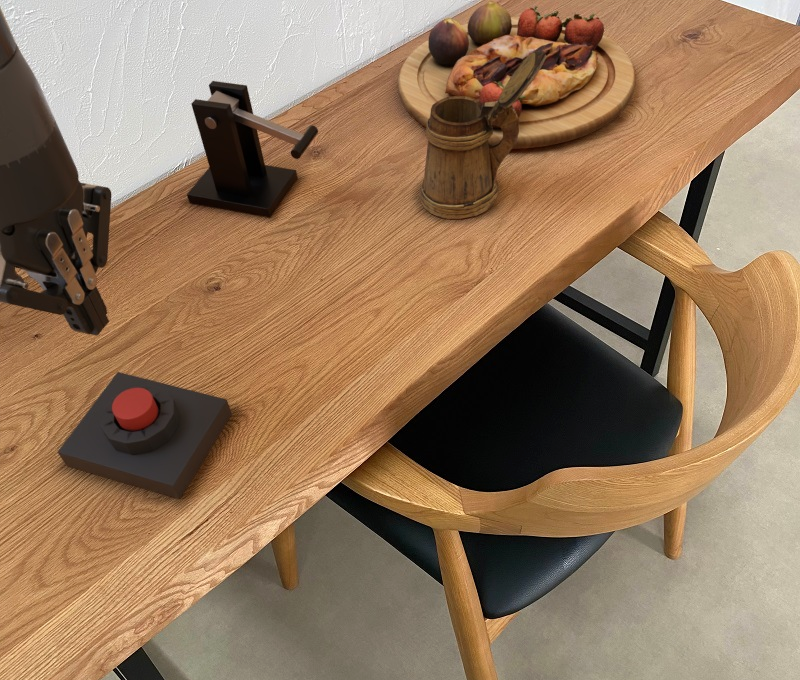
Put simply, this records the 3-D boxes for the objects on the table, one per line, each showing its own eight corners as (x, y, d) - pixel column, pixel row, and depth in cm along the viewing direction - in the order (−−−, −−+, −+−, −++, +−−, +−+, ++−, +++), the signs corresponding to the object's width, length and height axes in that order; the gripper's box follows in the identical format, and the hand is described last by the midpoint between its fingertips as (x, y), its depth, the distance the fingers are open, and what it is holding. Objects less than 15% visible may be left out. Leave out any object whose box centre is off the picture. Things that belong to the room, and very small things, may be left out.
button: (110, 425, 71) (103, 413, 69) (132, 395, 73) (125, 383, 71) (145, 435, 70) (138, 423, 68) (165, 404, 72) (160, 392, 70)
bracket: (298, 178, 99) (279, 81, 89) (270, 217, 94) (247, 120, 84) (220, 165, 102) (193, 70, 92) (189, 203, 97) (158, 107, 87)
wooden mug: (531, 225, 90) (543, 75, 76) (414, 216, 93) (405, 69, 79) (538, 178, 96) (550, 30, 82) (427, 171, 98) (421, 26, 84)
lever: (317, 140, 91) (319, 123, 89) (299, 165, 88) (301, 147, 87) (222, 102, 92) (222, 83, 90) (201, 125, 89) (200, 107, 87)
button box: (66, 466, 73) (48, 440, 70) (125, 386, 79) (111, 359, 75) (180, 499, 70) (166, 474, 67) (232, 413, 75) (222, 386, 72)
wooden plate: (579, 180, 95) (587, 117, 89) (354, 119, 106) (347, 60, 100) (666, 55, 112) (678, -5, 105) (463, 15, 123) (463, -42, 117)
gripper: (9, 70, 54) (100, 265, 67) (-132, 183, 46) (2, 378, 60) (102, 83, 52) (177, 281, 65) (-30, 203, 44) (85, 400, 58)
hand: (93, 327), depth 63 cm, fingers closed
